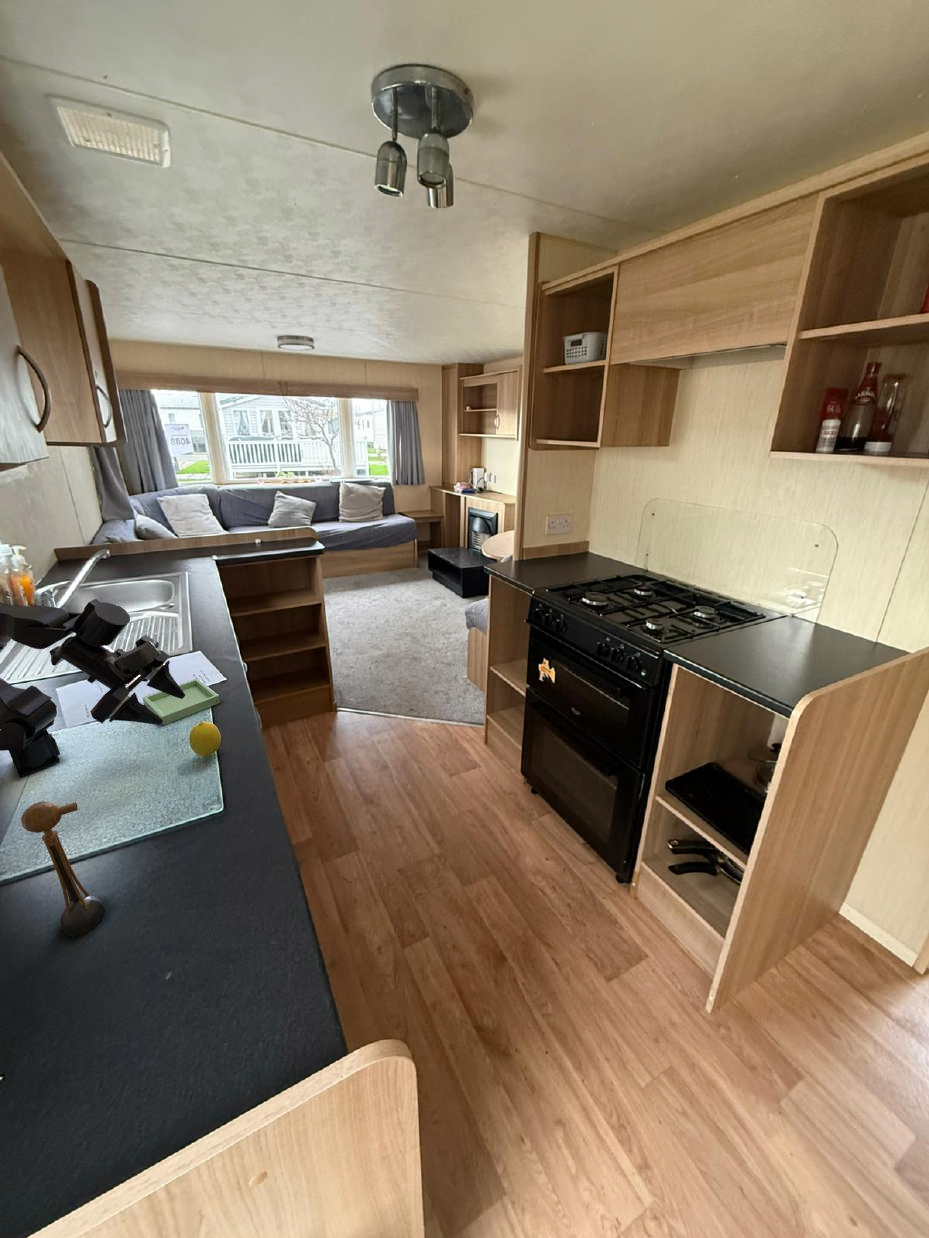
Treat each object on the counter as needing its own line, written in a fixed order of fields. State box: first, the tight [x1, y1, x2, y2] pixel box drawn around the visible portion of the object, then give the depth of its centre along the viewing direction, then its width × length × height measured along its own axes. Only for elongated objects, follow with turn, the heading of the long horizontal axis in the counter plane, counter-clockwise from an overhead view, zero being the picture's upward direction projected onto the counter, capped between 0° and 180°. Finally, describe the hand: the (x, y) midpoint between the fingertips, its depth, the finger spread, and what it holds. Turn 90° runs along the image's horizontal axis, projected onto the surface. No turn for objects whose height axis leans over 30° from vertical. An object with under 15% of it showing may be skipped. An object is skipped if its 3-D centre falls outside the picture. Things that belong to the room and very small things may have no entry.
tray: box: [142, 678, 221, 726], centre depth 120 cm, size 13×13×2 cm
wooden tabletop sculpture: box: [20, 801, 107, 937], centre depth 65 cm, size 6×5×20 cm
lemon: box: [188, 721, 222, 757], centre depth 100 cm, size 6×6×8 cm
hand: (173, 709), depth 97 cm, fingers open, 9 cm apart
